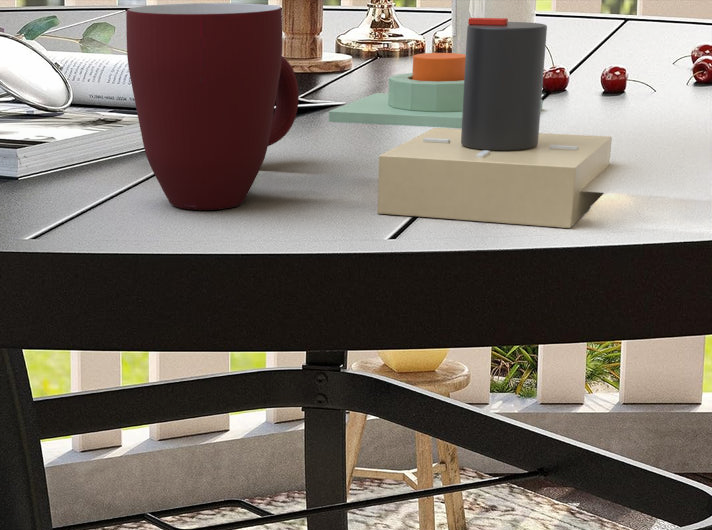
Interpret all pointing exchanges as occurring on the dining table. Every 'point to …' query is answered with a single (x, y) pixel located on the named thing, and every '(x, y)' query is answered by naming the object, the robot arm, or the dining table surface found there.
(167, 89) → the mug
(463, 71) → the button
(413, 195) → the block
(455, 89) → the kettle base
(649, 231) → the dining table surface
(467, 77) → the dial
